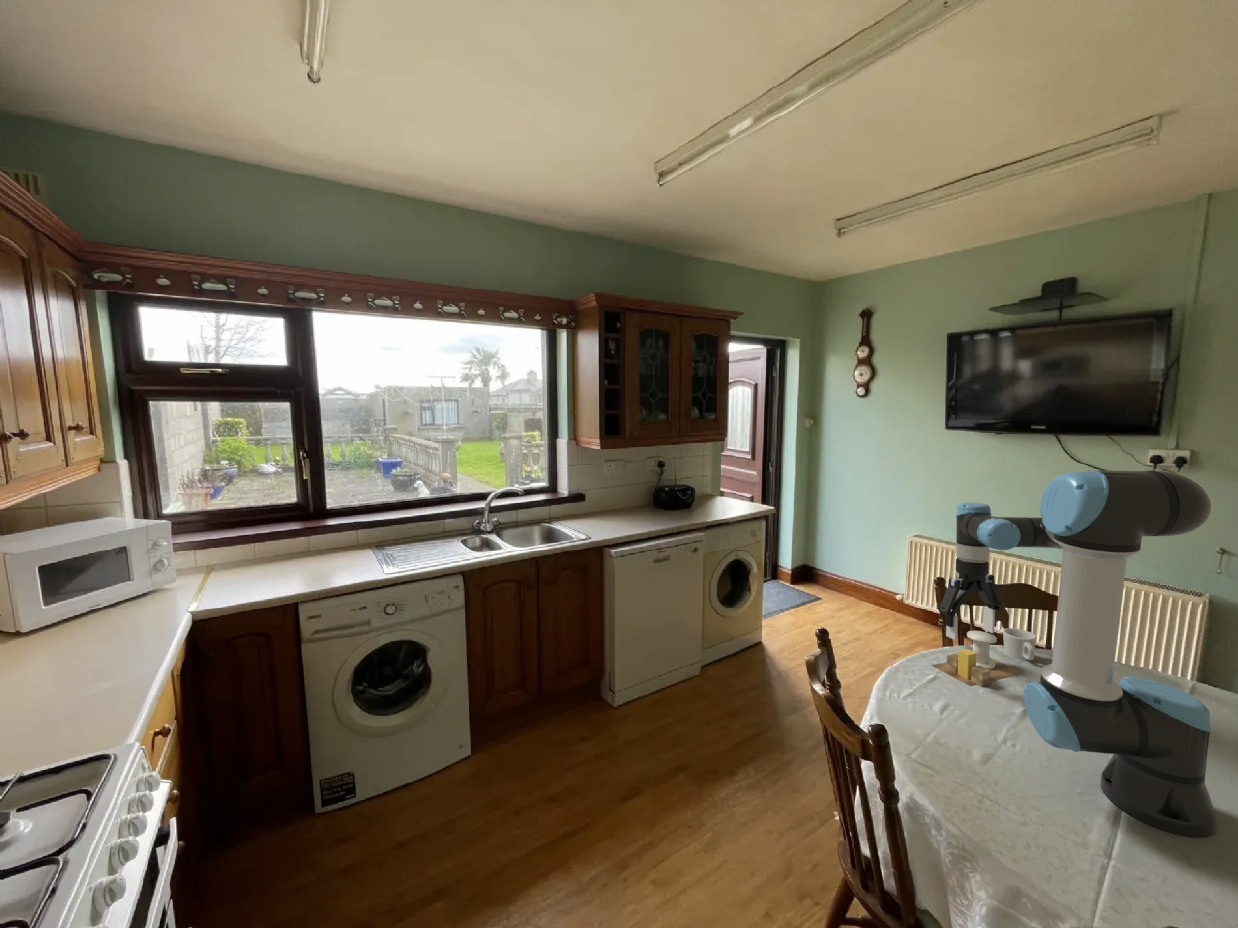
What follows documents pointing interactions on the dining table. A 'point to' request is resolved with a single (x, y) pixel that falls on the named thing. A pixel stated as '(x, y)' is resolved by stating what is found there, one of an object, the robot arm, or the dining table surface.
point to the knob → (982, 648)
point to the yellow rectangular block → (966, 662)
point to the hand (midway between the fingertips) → (970, 634)
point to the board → (994, 672)
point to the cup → (1019, 643)
